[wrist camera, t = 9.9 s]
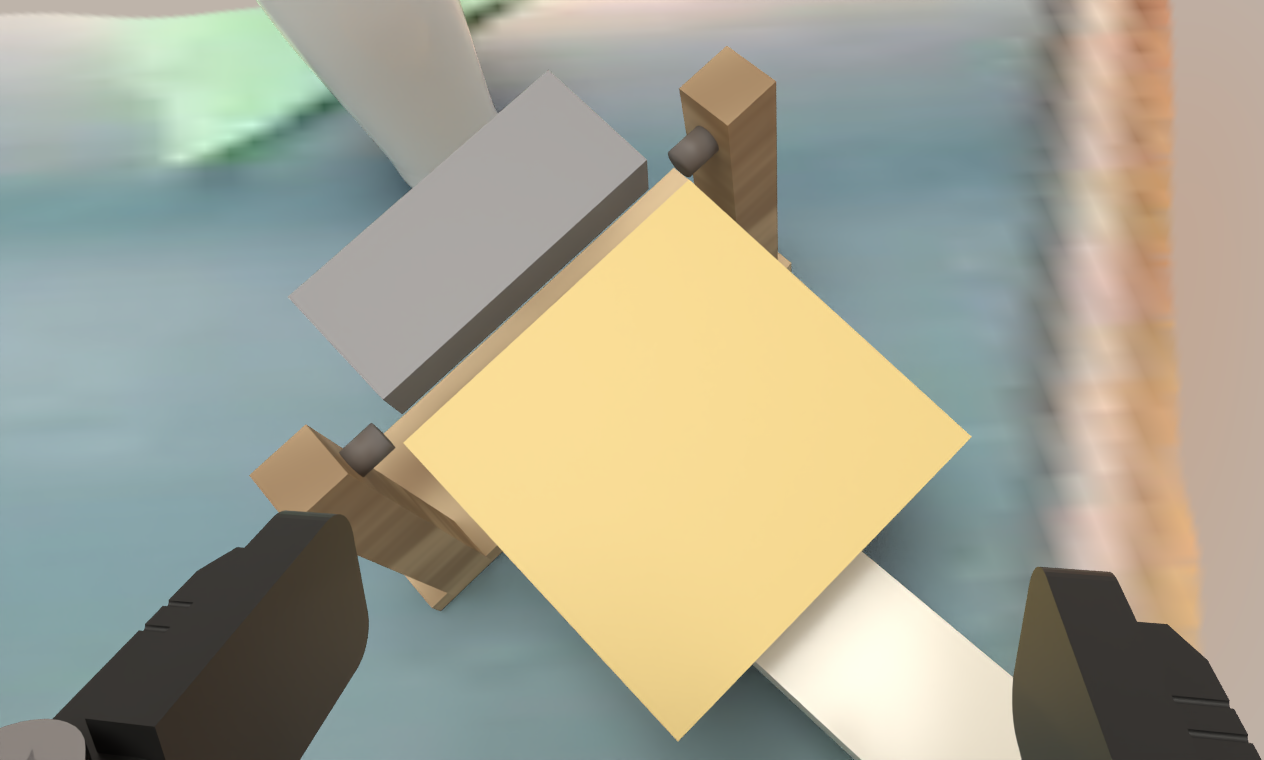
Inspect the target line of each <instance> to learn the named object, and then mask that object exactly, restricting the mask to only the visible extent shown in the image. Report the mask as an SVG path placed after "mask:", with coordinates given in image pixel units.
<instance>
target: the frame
mask: <svg viewBox="0 0 1264 760" xmlns="http://www.w3.org/2000/svg"><path fill="white" fill-rule="evenodd" d="M679 90H680V96H681V103H682V109H683V115H684V121H685V128H686V134H687V136H685V137H684V138H683V139H682V140H681V141H680V142H679V143H678V144H677V145H676V146H674V147H673V148H672V149H671V150H670V151H669V152H668V156H669V159H670V161H671V162H672V164H673V165H674V167H675V168H676V169H677V170H678V171H679V172H680V173H679V172H678V171H677V170H676V169H675V168H673V169H672V170H671V171H670V172H669V173H668V174H667V175H666V176H665V177H664V178H663V179H661V180H660V181H659V182H658V183H657V184H656V185H655V186H654V187H653V188H652V189H651V190H649V191H648V192H647V193H646V194H645V195H644V196H643V197H642V198H641V199H640V200H639V201H637V202H636V203H635V204H634V205H633V206H632V207H631V208H630V209H629V210H628V211H627V212H625V213H624V214H623V215H622V216H621V217H620V218H619V219H618V220H617V221H616V222H614V223H613V224H612V225H611V226H610V227H609V228H608V229H607V230H606V231H605V232H604V233H602V234H601V235H600V236H599V237H598V238H597V239H596V240H595V241H594V242H593V243H592V244H590V245H589V246H588V247H587V248H586V249H585V250H584V251H583V252H582V253H581V254H580V255H578V256H577V257H576V258H575V259H574V260H573V261H572V262H571V263H570V264H569V265H568V266H566V267H565V268H564V269H563V270H562V271H561V272H560V273H559V274H558V275H557V276H556V277H554V278H553V279H552V280H551V281H550V282H549V283H548V284H547V285H546V286H545V287H543V288H542V289H541V290H540V291H539V292H538V293H537V294H536V295H535V296H534V297H533V298H531V299H530V300H529V301H528V302H527V303H526V304H525V305H524V306H523V307H522V308H521V309H519V310H518V311H517V312H516V313H515V314H514V315H513V316H512V317H511V318H510V319H509V320H507V321H506V322H505V323H504V324H503V325H502V326H501V327H500V328H499V329H498V330H497V331H495V332H494V333H493V334H492V335H491V336H490V337H489V338H488V339H487V340H486V341H485V342H483V343H482V344H481V345H480V346H479V347H478V348H477V349H476V350H475V351H474V352H472V353H471V354H470V355H469V356H468V357H467V358H466V359H465V360H464V361H463V362H462V363H460V364H459V365H458V366H457V367H456V368H455V369H454V370H453V371H452V372H451V373H450V374H448V375H447V376H446V377H445V378H444V379H443V380H442V381H441V382H440V383H439V384H438V385H436V386H435V387H434V388H433V389H432V390H431V391H430V392H429V393H428V394H427V395H426V396H424V397H423V398H422V399H421V400H420V401H419V402H418V403H417V404H416V405H415V406H414V407H412V408H411V409H410V410H409V411H408V412H407V413H406V414H405V415H404V416H403V417H401V418H400V419H399V420H398V421H397V422H396V423H395V424H394V425H393V426H392V427H391V428H389V429H388V430H387V431H386V432H385V433H384V434H383V433H382V432H381V431H380V430H379V429H378V428H377V427H376V426H375V425H374V424H372V423H370V424H369V425H368V426H367V427H366V428H365V429H364V430H363V431H362V432H361V433H359V434H358V435H357V436H356V437H355V438H354V439H353V440H352V441H351V442H350V443H348V444H347V445H346V446H345V447H344V448H341V447H340V446H338V445H337V444H335V443H334V442H332V441H331V440H329V439H328V438H326V437H324V436H323V435H321V434H320V433H318V432H317V431H315V430H314V429H312V428H311V427H309V426H308V425H305V426H304V427H302V428H301V429H300V430H299V431H298V432H297V433H296V434H295V435H294V436H292V437H291V438H290V439H289V440H288V441H287V442H286V443H285V444H284V445H282V446H281V447H280V448H279V449H278V450H277V451H276V452H275V453H274V454H272V455H271V456H270V457H269V458H268V459H267V460H266V461H265V462H264V463H262V464H261V465H260V466H259V467H258V468H257V469H256V470H255V471H254V472H252V473H251V474H250V475H249V476H250V477H251V478H252V479H253V481H254V482H255V483H256V484H257V486H258V487H259V488H260V489H261V491H262V492H263V493H264V494H265V496H266V497H267V498H268V499H269V501H270V502H271V503H272V504H273V506H274V507H275V508H276V509H277V511H278V512H281V511H285V510H287V511H301V512H315V513H329V514H342V515H344V516H345V517H346V518H347V519H348V521H349V522H350V525H351V527H352V531H353V536H354V541H355V546H356V552H357V555H358V556H361V557H363V558H365V559H368V560H370V561H372V562H375V563H377V564H380V565H382V566H384V567H387V568H389V569H391V570H394V571H396V572H399V573H401V574H403V575H405V576H406V577H407V579H408V580H409V581H410V582H411V583H412V585H413V586H414V587H415V588H416V589H417V591H418V592H419V593H420V594H421V595H422V597H423V598H424V599H425V600H426V601H427V603H428V604H429V605H430V606H431V607H432V608H434V609H436V610H439V611H441V610H442V609H443V608H444V607H445V606H446V605H447V604H448V603H449V602H451V601H452V600H453V599H454V598H455V597H456V596H457V595H458V594H459V593H460V592H461V591H462V590H463V589H464V588H465V587H466V586H467V585H468V584H469V583H470V582H471V581H472V580H473V579H474V578H475V577H477V576H478V575H479V574H480V573H481V572H482V571H483V570H484V569H485V568H486V567H487V566H488V565H489V564H490V563H491V562H492V561H493V560H494V559H495V558H496V557H497V556H498V555H499V554H500V553H501V552H503V551H502V550H501V549H500V548H499V547H498V545H497V544H496V543H495V542H494V541H493V540H492V539H491V538H490V537H489V536H488V535H487V534H486V532H485V531H484V530H483V529H482V528H481V527H480V526H479V525H478V524H477V523H476V522H475V520H474V519H473V518H472V517H471V516H470V515H469V514H468V513H467V512H466V511H465V510H464V509H463V507H462V506H461V505H460V504H459V503H458V502H457V501H456V500H455V499H454V498H453V497H452V496H451V494H450V493H449V492H448V491H447V490H446V489H445V488H444V487H443V486H442V485H441V484H440V482H439V481H438V480H437V479H436V478H435V477H434V476H433V475H432V474H431V473H430V472H429V471H428V469H427V468H426V467H425V466H424V465H423V464H422V463H421V462H420V461H419V460H418V459H417V457H416V456H415V455H414V454H413V453H412V452H411V451H410V450H409V449H408V448H407V447H406V446H405V444H404V443H403V442H405V441H406V440H407V439H408V438H409V437H410V436H411V435H412V434H413V433H414V432H415V431H416V430H418V429H419V428H420V427H421V426H422V425H423V424H424V423H425V422H426V421H427V420H428V419H430V418H431V417H432V416H433V415H434V414H435V413H436V412H437V411H438V410H439V409H440V408H441V407H443V406H444V405H445V404H446V403H447V402H448V401H449V400H450V399H451V398H452V397H453V396H454V395H456V394H457V393H458V392H459V391H460V390H461V389H462V388H463V387H464V386H465V385H466V384H468V383H469V382H470V381H471V380H472V379H473V378H474V377H475V376H476V375H477V374H478V373H479V372H481V371H482V370H483V369H484V368H485V367H486V366H487V365H488V364H489V363H490V362H491V361H493V360H494V359H495V358H496V357H497V356H498V355H499V354H500V353H501V352H502V351H503V350H504V349H506V348H507V347H508V346H509V345H510V344H511V343H512V342H513V341H514V340H515V339H516V338H517V337H519V336H520V335H521V334H522V333H523V332H524V331H525V330H526V329H527V328H528V327H529V326H531V325H532V324H533V323H534V322H535V321H536V320H537V319H538V318H539V317H540V316H541V315H542V314H544V313H545V312H546V311H547V310H548V309H549V308H550V307H551V306H552V305H553V304H554V303H555V302H557V301H558V300H559V299H560V298H561V297H562V296H563V295H564V294H565V293H566V292H567V291H569V290H570V289H571V288H572V287H573V286H574V285H575V284H576V283H577V282H578V281H579V280H580V279H582V278H583V277H584V276H585V275H586V274H587V273H588V272H589V271H590V270H591V269H592V268H593V267H595V266H596V265H597V264H598V263H599V262H600V261H601V260H602V259H603V258H604V257H605V256H607V255H608V254H609V253H610V252H611V251H612V250H613V249H614V248H615V247H616V246H617V245H618V244H620V243H621V242H622V241H623V240H624V239H625V238H626V237H627V236H628V235H629V234H630V233H632V232H633V231H634V230H635V229H636V228H637V227H638V226H639V225H640V224H641V223H642V222H643V221H645V220H646V219H647V218H648V217H649V216H650V215H651V214H652V213H653V212H654V211H655V210H656V209H658V208H659V207H660V206H661V205H662V204H663V203H664V202H665V201H666V200H667V199H668V198H670V197H671V196H672V195H673V194H674V193H675V192H676V191H677V190H678V189H679V188H680V187H681V186H683V185H684V184H685V183H686V182H687V181H688V179H687V178H686V177H691V176H692V175H693V178H694V184H695V185H696V186H697V187H698V188H699V189H700V190H701V191H702V192H703V193H704V194H705V195H707V196H708V197H709V198H710V199H711V200H712V201H713V202H714V203H715V204H716V205H717V206H719V207H720V208H721V209H722V210H723V211H724V212H725V213H726V214H727V215H728V216H730V217H731V218H732V219H733V220H734V221H735V222H736V223H737V224H738V225H739V226H741V227H742V228H743V229H744V230H745V231H746V232H747V233H748V234H749V235H750V236H752V237H753V238H754V239H755V240H756V241H757V242H758V243H759V244H760V245H761V246H763V247H764V248H765V249H766V250H767V251H768V252H769V253H770V254H771V255H772V256H773V257H775V258H776V259H777V260H778V261H779V262H780V263H781V264H782V265H783V266H784V267H786V268H787V269H788V270H789V271H790V272H791V262H789V261H788V260H787V259H786V258H784V257H783V256H782V255H781V254H779V253H778V233H777V129H776V81H775V80H773V79H772V78H771V77H769V76H768V75H766V74H765V73H764V72H762V71H761V70H760V69H758V68H757V67H755V66H754V65H753V64H751V63H750V62H749V61H747V60H746V59H744V58H743V57H742V56H740V55H739V54H738V53H736V52H735V51H733V50H732V49H731V48H729V47H728V46H726V47H725V48H724V49H723V50H722V51H720V52H719V53H718V54H717V55H716V56H715V57H714V58H713V59H712V60H710V61H709V62H708V63H707V64H706V65H705V66H704V67H703V68H702V69H700V70H699V71H698V72H697V73H696V74H695V75H694V76H693V77H692V78H690V79H689V80H688V81H687V82H686V83H685V84H684V85H683V86H682V87H680V88H679ZM682 174H683V175H684V176H686V177H684V176H683V175H682Z"/></svg>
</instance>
